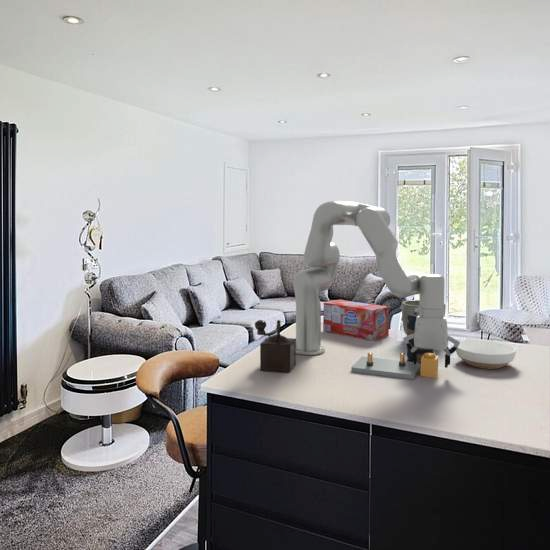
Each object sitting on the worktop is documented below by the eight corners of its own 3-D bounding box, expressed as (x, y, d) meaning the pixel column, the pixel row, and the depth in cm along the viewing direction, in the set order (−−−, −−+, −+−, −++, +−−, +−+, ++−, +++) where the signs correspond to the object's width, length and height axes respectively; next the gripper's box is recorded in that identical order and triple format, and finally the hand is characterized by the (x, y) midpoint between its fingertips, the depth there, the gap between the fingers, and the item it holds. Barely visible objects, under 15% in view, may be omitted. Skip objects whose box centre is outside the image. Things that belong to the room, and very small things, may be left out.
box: (390, 336, 208) (390, 305, 207) (373, 342, 199) (374, 309, 198) (339, 327, 227) (339, 298, 226) (322, 331, 218) (322, 302, 216)
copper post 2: (398, 370, 161) (398, 354, 160) (399, 368, 163) (399, 352, 162) (404, 370, 160) (405, 354, 159) (405, 369, 162) (406, 353, 161)
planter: (409, 334, 211) (410, 298, 209) (449, 339, 201) (451, 302, 199) (394, 342, 197) (395, 304, 195) (436, 348, 187) (438, 308, 185)
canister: (435, 365, 166) (437, 314, 164) (407, 363, 168) (408, 313, 166) (432, 357, 175) (433, 309, 173) (405, 356, 177) (406, 308, 175)
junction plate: (351, 371, 160) (351, 367, 159) (361, 360, 172) (361, 356, 172) (413, 379, 151) (413, 374, 151) (419, 367, 164) (419, 362, 164)
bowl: (514, 359, 172) (515, 343, 172) (516, 375, 155) (517, 357, 154) (456, 353, 180) (457, 337, 180) (452, 368, 163) (452, 350, 162)
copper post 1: (365, 369, 162) (366, 353, 161) (367, 367, 164) (367, 352, 163) (372, 370, 161) (372, 354, 160) (373, 368, 163) (374, 352, 162)
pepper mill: (266, 362, 171) (265, 312, 169) (296, 364, 168) (296, 313, 166) (253, 375, 156) (252, 321, 154) (286, 378, 153) (285, 322, 151)
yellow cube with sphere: (420, 375, 155) (421, 355, 154) (422, 371, 159) (423, 351, 158) (436, 377, 153) (436, 357, 152) (437, 373, 157) (438, 353, 156)
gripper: (401, 313, 154) (401, 365, 156) (459, 316, 147) (458, 371, 148) (405, 309, 161) (405, 359, 162) (461, 312, 153) (460, 364, 155)
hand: (430, 365), depth 155 cm, fingers open, 9 cm apart
